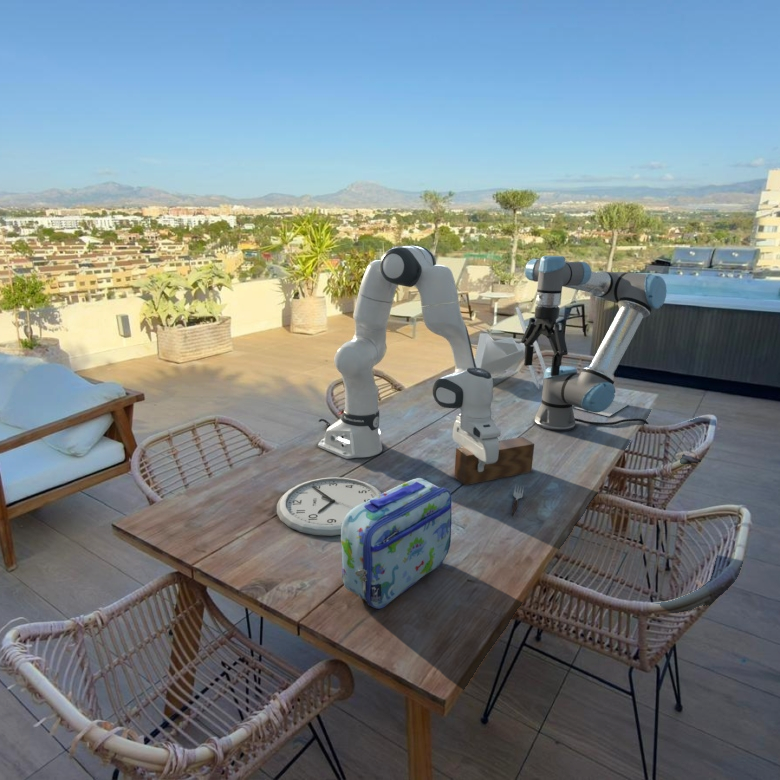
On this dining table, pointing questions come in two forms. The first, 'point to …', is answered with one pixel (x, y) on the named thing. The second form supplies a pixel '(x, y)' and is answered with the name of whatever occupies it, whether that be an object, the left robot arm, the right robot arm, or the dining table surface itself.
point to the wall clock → (323, 504)
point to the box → (510, 462)
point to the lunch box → (395, 540)
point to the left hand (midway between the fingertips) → (472, 465)
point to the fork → (517, 496)
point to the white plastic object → (504, 353)
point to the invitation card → (609, 409)
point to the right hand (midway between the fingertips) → (540, 370)
